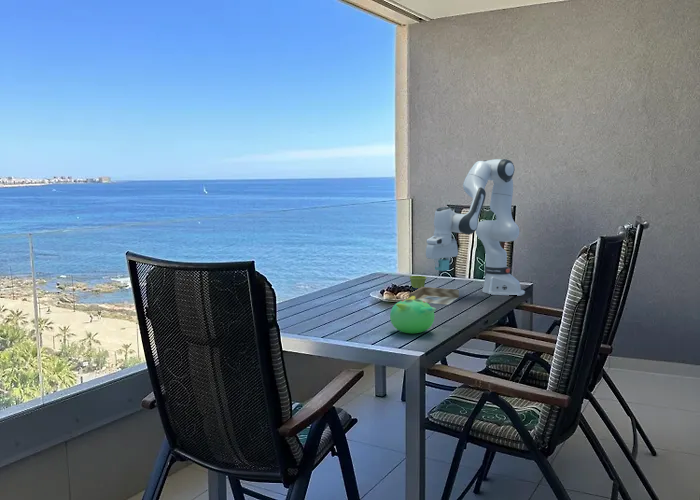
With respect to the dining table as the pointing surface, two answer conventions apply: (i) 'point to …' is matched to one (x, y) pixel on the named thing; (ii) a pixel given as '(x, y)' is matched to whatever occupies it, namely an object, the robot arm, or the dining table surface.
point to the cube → (443, 265)
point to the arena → (435, 295)
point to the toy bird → (412, 315)
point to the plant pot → (417, 281)
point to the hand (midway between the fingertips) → (442, 266)
